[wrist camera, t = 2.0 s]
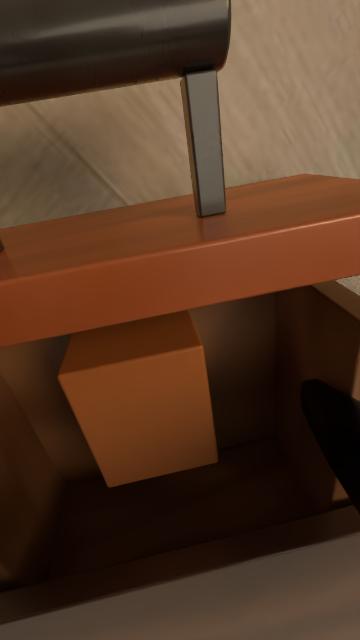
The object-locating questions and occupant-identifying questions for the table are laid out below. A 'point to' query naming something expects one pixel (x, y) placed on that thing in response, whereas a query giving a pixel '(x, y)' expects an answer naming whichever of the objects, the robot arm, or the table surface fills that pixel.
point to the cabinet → (208, 590)
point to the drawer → (166, 306)
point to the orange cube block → (141, 397)
